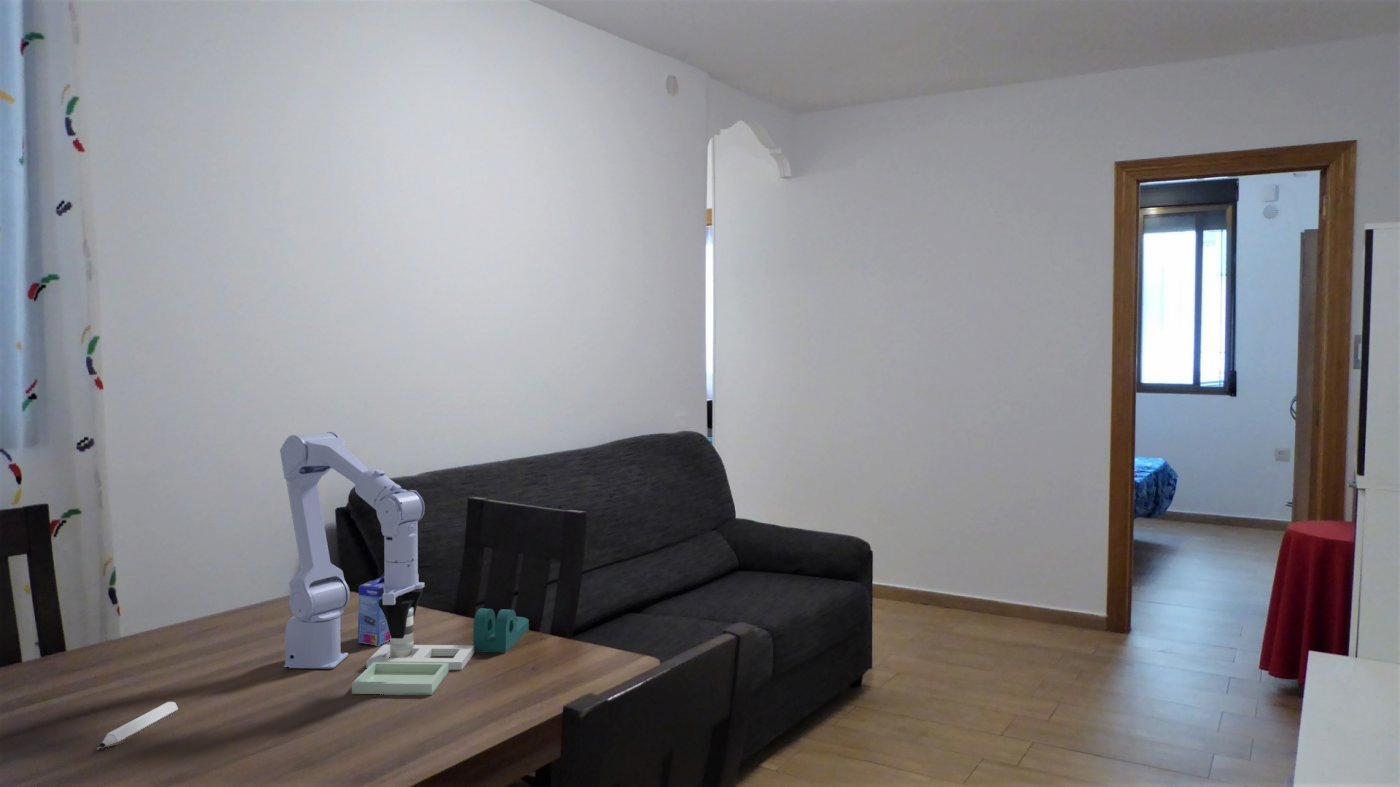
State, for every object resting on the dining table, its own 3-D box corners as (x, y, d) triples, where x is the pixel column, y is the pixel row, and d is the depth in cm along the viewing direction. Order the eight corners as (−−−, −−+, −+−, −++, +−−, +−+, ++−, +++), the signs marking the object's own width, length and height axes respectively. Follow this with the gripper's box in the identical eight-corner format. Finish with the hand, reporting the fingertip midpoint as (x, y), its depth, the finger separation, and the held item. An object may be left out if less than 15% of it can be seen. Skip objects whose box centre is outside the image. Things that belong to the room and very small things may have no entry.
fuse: (387, 664, 181) (387, 628, 181) (394, 657, 185) (393, 622, 185) (408, 664, 181) (408, 628, 181) (414, 657, 185) (414, 622, 185)
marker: (95, 760, 141) (170, 717, 157) (106, 754, 140) (180, 711, 156) (87, 744, 141) (162, 703, 157) (97, 738, 141) (172, 697, 156)
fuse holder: (366, 669, 178) (366, 661, 178) (383, 651, 188) (383, 644, 188) (461, 670, 178) (461, 662, 178) (474, 652, 188) (474, 645, 188)
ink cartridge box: (379, 647, 191) (379, 576, 190) (356, 644, 193) (356, 574, 192) (408, 633, 201) (408, 565, 200) (385, 630, 202) (385, 563, 202)
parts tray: (351, 694, 165) (351, 683, 165) (373, 672, 176) (373, 662, 176) (431, 695, 165) (431, 684, 165) (448, 673, 176) (448, 663, 176)
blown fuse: (387, 650, 168) (386, 611, 168) (394, 643, 173) (394, 605, 172) (409, 650, 168) (409, 612, 168) (416, 643, 173) (416, 606, 172)
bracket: (505, 654, 189) (505, 615, 188) (473, 652, 189) (473, 613, 189) (532, 627, 206) (532, 591, 206) (502, 626, 207) (502, 590, 207)
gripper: (411, 569, 162) (411, 646, 163) (434, 550, 177) (434, 622, 178) (370, 568, 162) (370, 646, 163) (396, 550, 177) (397, 622, 178)
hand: (401, 634), depth 170 cm, fingers closed on blown fuse, 4 cm apart
